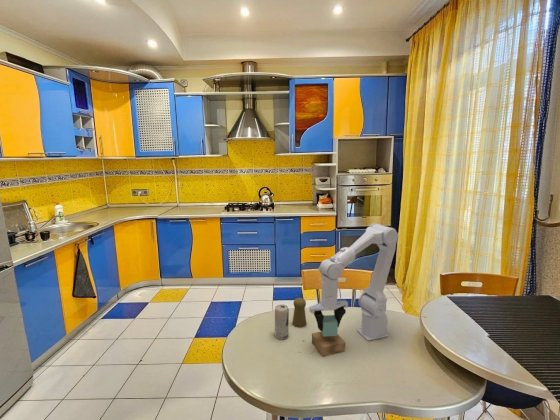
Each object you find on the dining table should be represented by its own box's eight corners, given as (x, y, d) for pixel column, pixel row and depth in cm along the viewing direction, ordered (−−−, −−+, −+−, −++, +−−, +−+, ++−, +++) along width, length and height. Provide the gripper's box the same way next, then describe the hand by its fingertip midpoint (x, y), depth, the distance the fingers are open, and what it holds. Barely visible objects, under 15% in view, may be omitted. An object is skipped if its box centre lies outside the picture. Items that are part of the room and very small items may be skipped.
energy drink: (290, 333, 121) (290, 305, 119) (286, 341, 116) (286, 312, 114) (277, 331, 123) (277, 303, 121) (272, 338, 118) (272, 309, 116)
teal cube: (333, 327, 114) (333, 314, 113) (337, 335, 109) (337, 322, 108) (320, 328, 114) (320, 315, 113) (323, 336, 109) (323, 323, 108)
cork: (305, 328, 125) (306, 303, 123) (291, 326, 126) (291, 302, 124) (307, 320, 131) (307, 296, 129) (293, 319, 132) (293, 295, 130)
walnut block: (332, 338, 118) (332, 329, 118) (344, 352, 110) (345, 342, 109) (311, 343, 116) (311, 333, 115) (322, 357, 107) (322, 347, 106)
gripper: (341, 285, 115) (340, 318, 117) (306, 291, 110) (305, 325, 113) (351, 293, 108) (350, 328, 111) (314, 299, 104) (313, 335, 106)
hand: (328, 327), depth 111 cm, fingers closed on teal cube, 6 cm apart
